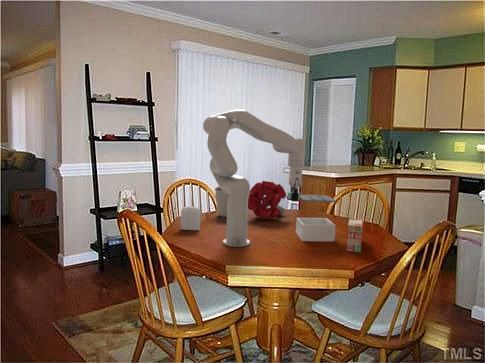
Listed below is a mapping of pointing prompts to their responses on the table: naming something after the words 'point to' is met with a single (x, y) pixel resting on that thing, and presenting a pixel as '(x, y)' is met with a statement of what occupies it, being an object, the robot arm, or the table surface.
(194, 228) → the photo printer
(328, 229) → the tub
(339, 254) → the table surface
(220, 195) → the canister
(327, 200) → the lid
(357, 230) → the printed milk carton
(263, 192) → the bouquet
